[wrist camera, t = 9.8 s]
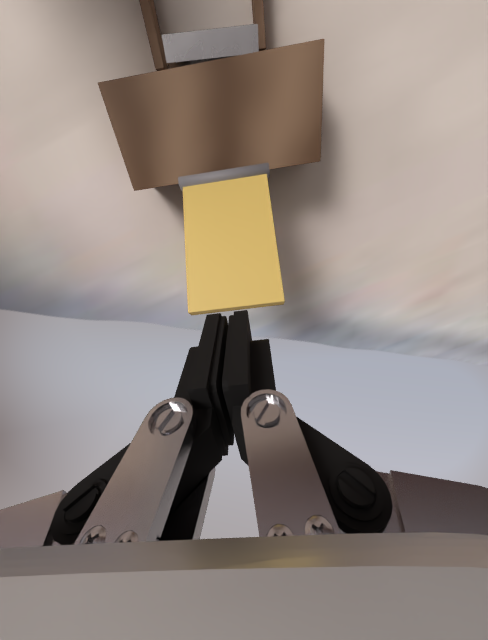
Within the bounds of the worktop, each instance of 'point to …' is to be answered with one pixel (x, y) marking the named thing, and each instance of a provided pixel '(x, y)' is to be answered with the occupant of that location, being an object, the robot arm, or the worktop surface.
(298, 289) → the worktop surface
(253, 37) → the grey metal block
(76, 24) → the worktop surface
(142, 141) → the block
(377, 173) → the worktop surface
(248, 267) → the yellow grey-edged tile
